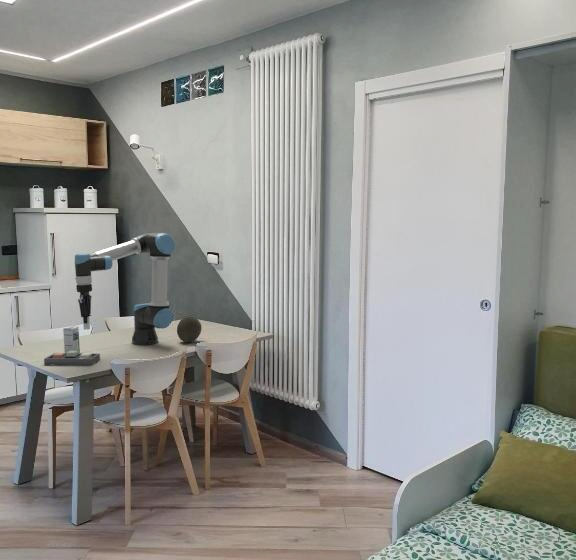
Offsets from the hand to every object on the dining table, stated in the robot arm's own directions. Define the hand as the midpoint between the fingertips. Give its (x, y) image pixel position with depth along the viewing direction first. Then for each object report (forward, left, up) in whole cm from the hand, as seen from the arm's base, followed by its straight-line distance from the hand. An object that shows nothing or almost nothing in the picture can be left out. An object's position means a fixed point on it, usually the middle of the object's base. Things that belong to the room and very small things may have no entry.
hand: (86, 329), depth 305 cm
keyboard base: (+6, +5, -16) cm, 18 cm away
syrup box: (+14, -14, -17) cm, 26 cm away
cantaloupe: (-44, -45, -17) cm, 65 cm away
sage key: (+6, +5, -13) cm, 15 cm away
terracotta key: (+13, +5, -14) cm, 20 cm away
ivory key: (-1, +5, -14) cm, 15 cm away
